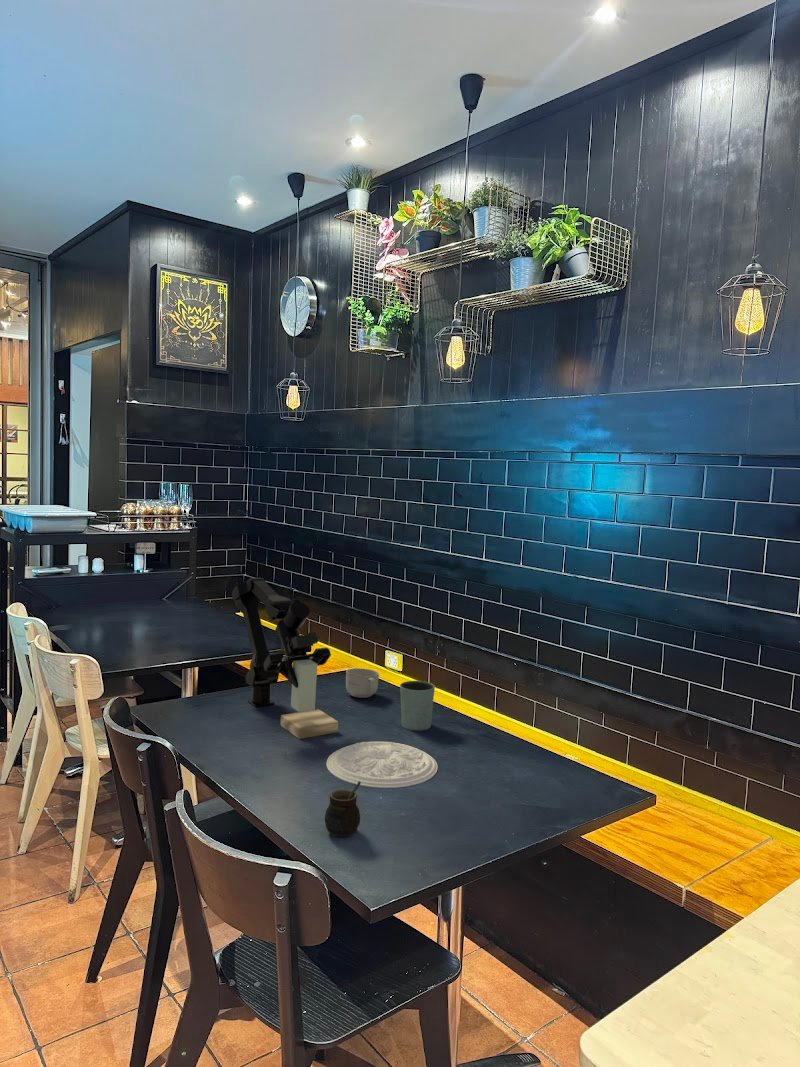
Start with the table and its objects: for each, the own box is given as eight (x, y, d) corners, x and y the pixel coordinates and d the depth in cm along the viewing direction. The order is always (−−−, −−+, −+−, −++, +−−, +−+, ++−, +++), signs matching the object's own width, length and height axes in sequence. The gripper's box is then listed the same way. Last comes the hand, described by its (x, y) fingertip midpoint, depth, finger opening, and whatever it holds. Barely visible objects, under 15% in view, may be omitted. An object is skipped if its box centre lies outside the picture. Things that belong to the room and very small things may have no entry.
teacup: (341, 691, 251) (342, 667, 250) (373, 689, 254) (374, 666, 254) (351, 704, 238) (352, 679, 237) (385, 702, 241) (386, 678, 240)
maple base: (280, 725, 216) (280, 715, 216) (318, 719, 222) (318, 709, 222) (299, 739, 206) (299, 728, 206) (337, 732, 213) (338, 721, 212)
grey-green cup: (433, 732, 216) (435, 691, 215) (397, 730, 216) (399, 689, 215) (432, 720, 226) (434, 681, 225) (398, 718, 226) (400, 679, 225)
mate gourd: (316, 831, 155) (318, 783, 154) (344, 820, 161) (346, 774, 160) (339, 844, 150) (341, 795, 149) (367, 832, 155) (369, 785, 155)
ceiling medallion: (427, 796, 175) (428, 783, 175) (311, 781, 180) (312, 768, 180) (444, 752, 202) (445, 741, 202) (343, 740, 208) (344, 729, 207)
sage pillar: (290, 706, 212) (293, 660, 211) (306, 704, 215) (309, 659, 213) (298, 711, 208) (300, 665, 207) (314, 709, 211) (317, 663, 209)
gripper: (269, 625, 207) (284, 675, 199) (329, 619, 217) (346, 667, 209) (256, 646, 214) (271, 695, 206) (315, 640, 225) (331, 687, 217)
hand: (306, 685), depth 210 cm, fingers closed on sage pillar, 5 cm apart
